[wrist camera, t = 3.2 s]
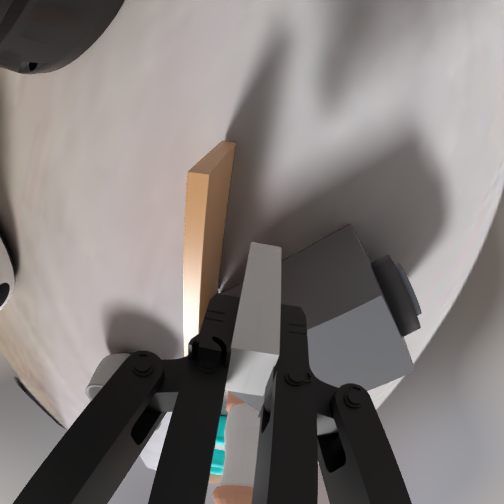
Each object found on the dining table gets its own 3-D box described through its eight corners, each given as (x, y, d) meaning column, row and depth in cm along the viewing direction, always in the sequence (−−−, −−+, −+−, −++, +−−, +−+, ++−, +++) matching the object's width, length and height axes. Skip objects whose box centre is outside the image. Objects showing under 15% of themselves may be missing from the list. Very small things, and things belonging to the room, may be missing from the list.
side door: (205, 294, 27) (183, 364, 20) (221, 140, 19) (185, 171, 12) (217, 296, 27) (198, 367, 20) (237, 142, 19) (211, 175, 12)
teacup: (94, 338, 35) (71, 380, 28) (157, 345, 33) (137, 396, 26) (132, 390, 42) (118, 427, 35) (187, 398, 40) (177, 440, 34)
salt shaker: (256, 407, 40) (243, 518, 23) (219, 389, 37) (196, 510, 21) (290, 392, 36) (285, 518, 20) (252, 372, 34) (235, 514, 18)
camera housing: (219, 294, 27) (196, 378, 19) (371, 211, 21) (418, 286, 13) (275, 350, 31) (270, 426, 23) (406, 290, 25) (440, 366, 17)
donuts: (218, 462, 33) (255, 476, 37) (227, 409, 41) (259, 429, 45) (173, 461, 36) (211, 476, 40) (185, 415, 45) (218, 434, 49)
